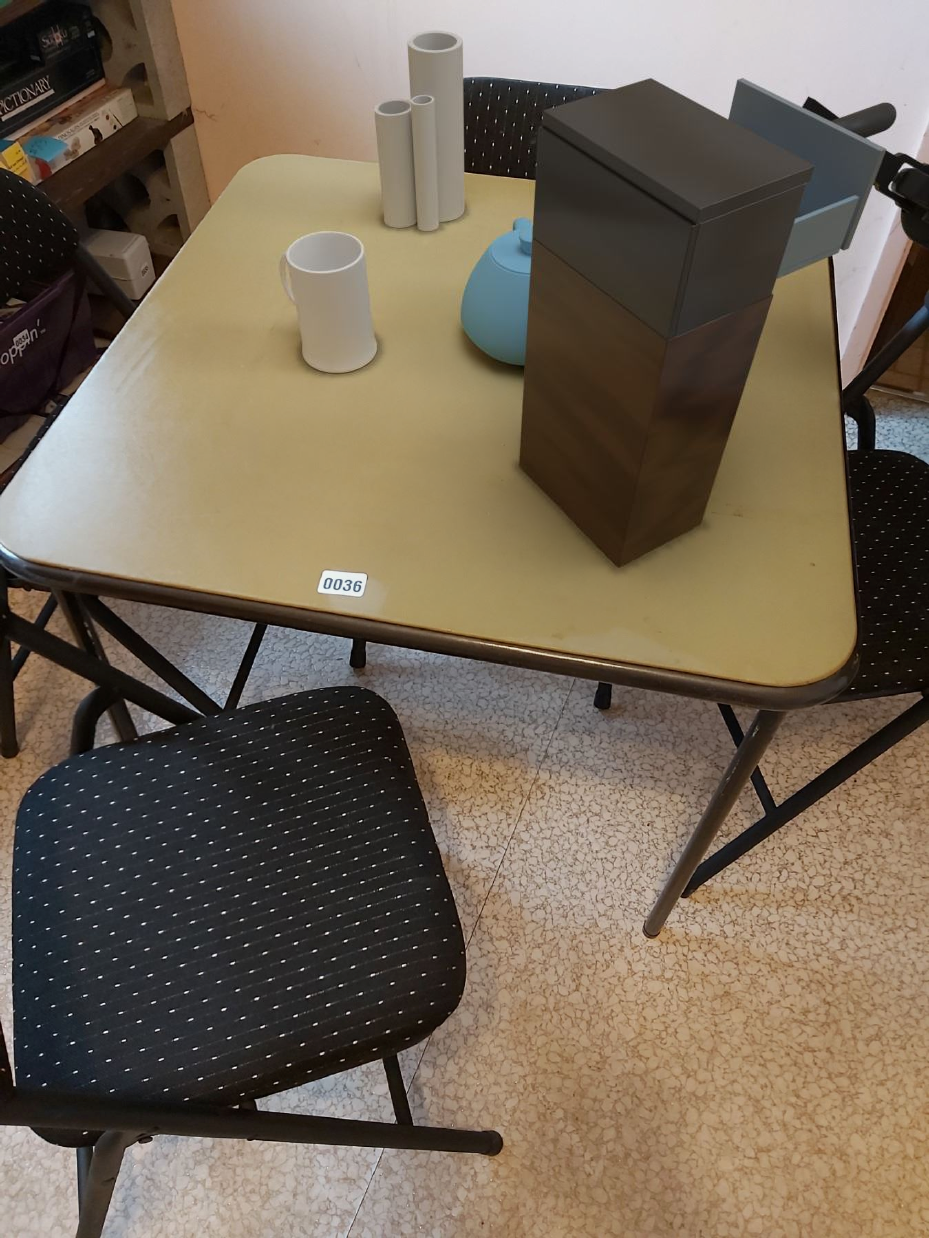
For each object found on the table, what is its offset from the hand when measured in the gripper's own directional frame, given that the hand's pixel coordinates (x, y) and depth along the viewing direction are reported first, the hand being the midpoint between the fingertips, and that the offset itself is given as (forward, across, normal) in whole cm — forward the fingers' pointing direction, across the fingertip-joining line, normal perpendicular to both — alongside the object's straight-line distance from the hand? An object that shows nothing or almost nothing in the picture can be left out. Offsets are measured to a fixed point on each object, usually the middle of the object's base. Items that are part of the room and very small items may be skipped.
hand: (864, 146), depth 67 cm
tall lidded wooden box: (+5, 0, -34) cm, 35 cm away
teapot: (-4, +24, -29) cm, 38 cm away
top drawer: (+5, 0, -6) cm, 8 cm away
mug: (+15, +36, -40) cm, 56 cm away
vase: (-6, +55, -28) cm, 62 cm away
